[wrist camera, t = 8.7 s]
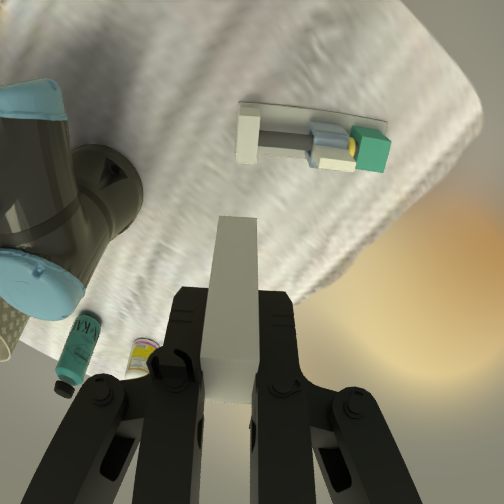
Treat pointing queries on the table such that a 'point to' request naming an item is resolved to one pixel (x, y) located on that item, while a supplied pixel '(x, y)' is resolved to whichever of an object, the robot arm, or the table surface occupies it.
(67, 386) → the beverage bottle
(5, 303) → the planter
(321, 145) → the pale blue hollow box
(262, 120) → the slider rail
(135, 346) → the supplement bottle
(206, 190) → the table surface
